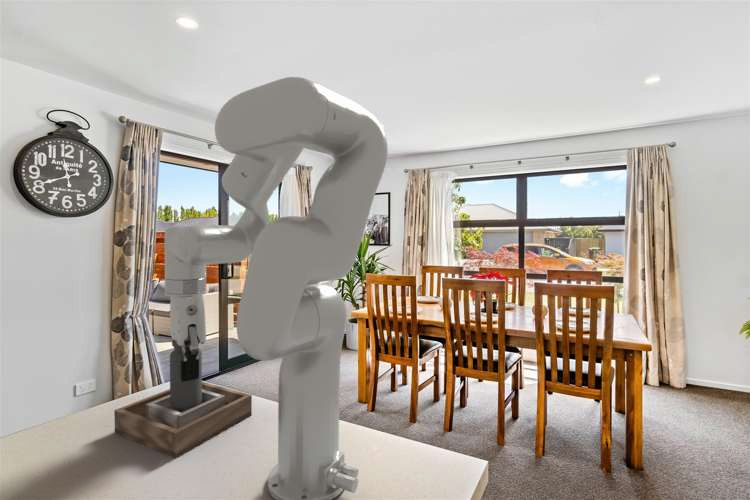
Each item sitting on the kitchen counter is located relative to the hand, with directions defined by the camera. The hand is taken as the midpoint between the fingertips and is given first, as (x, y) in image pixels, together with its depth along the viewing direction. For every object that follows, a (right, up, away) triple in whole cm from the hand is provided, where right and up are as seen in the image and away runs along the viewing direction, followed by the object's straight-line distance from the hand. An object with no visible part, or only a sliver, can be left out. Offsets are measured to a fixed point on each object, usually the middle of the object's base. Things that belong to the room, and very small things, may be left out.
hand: (186, 373), depth 79 cm
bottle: (0, -6, 0) cm, 6 cm away
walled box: (0, -10, 0) cm, 10 cm away
